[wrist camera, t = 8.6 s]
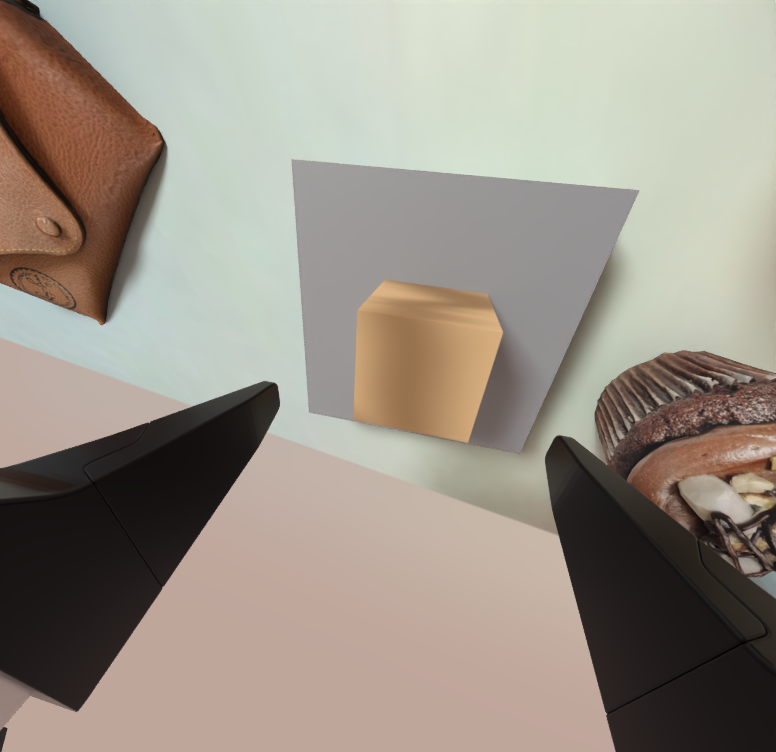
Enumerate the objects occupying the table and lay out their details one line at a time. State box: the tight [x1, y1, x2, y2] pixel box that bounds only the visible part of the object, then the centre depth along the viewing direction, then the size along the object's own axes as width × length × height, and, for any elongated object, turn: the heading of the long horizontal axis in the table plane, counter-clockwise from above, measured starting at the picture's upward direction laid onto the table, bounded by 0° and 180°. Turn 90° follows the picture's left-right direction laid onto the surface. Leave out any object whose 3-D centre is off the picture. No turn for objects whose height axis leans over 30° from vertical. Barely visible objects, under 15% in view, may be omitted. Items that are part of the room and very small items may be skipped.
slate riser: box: [292, 159, 639, 454], centre depth 17 cm, size 14×14×4 cm
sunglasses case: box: [0, 0, 164, 325], centre depth 19 cm, size 18×7×7 cm, turn 137°
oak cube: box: [353, 280, 503, 443], centre depth 13 cm, size 5×5×5 cm
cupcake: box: [595, 350, 776, 578], centre depth 15 cm, size 10×10×10 cm
